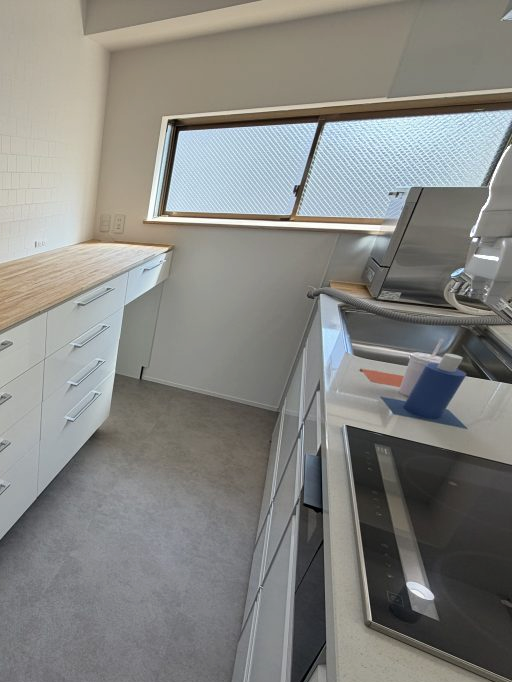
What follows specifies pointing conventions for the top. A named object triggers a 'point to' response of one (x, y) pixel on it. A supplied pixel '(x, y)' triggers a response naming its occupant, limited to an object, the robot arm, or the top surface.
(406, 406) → the blue bottle
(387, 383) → the terracotta mat
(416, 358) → the smoothie
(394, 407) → the blue mat
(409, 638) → the top surface
